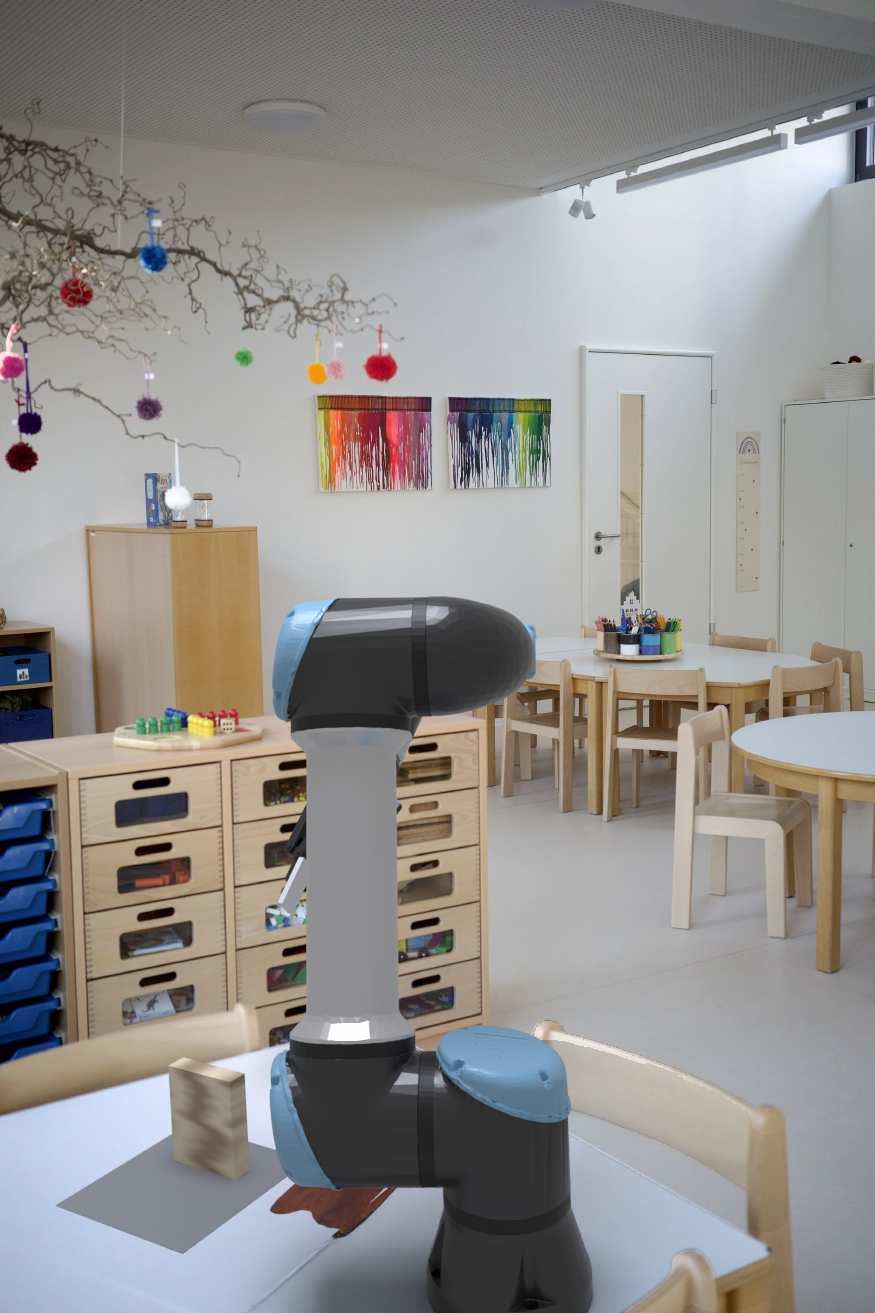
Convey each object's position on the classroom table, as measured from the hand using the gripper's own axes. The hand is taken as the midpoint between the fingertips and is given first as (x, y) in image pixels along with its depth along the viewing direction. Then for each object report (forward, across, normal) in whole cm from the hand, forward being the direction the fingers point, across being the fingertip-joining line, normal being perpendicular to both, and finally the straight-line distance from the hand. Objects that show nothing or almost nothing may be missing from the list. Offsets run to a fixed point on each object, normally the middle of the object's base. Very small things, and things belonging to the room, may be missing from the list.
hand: (303, 911), depth 146 cm
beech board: (+30, 0, -4) cm, 30 cm away
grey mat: (+33, 0, -1) cm, 33 cm away
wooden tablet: (+24, -15, -11) cm, 31 cm away
